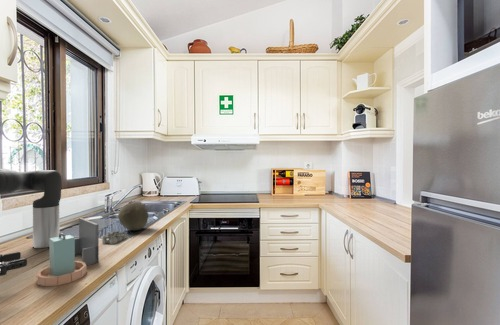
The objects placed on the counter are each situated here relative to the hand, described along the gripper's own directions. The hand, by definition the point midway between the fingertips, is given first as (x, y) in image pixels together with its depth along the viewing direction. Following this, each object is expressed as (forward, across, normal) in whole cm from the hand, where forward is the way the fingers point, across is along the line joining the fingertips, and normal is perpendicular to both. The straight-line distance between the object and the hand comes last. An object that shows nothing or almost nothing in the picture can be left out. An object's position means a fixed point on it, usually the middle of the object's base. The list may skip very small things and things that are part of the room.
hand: (23, 258), depth 75 cm
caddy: (+10, 0, +8) cm, 13 cm away
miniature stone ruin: (+37, +27, +9) cm, 47 cm away
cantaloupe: (+51, +36, +9) cm, 63 cm away
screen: (+19, +12, +9) cm, 25 cm away
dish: (+10, 0, +9) cm, 13 cm away
